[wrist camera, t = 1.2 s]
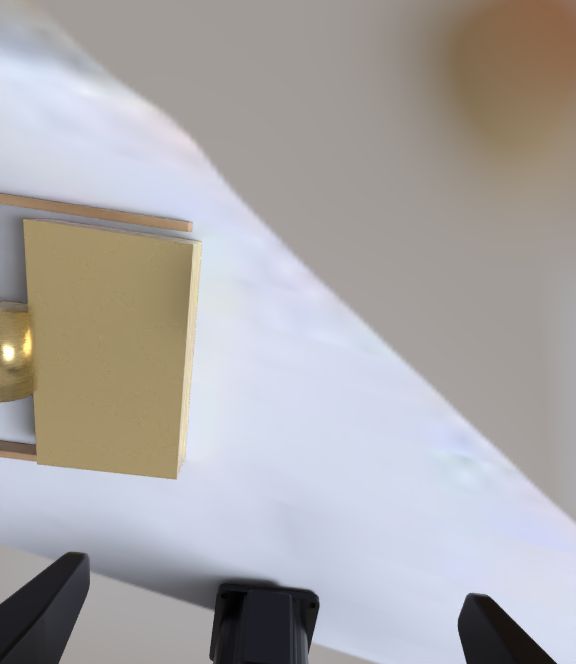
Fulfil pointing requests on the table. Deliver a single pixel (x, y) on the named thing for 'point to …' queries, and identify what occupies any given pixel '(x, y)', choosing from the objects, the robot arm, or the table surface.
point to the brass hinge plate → (104, 346)
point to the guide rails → (28, 450)
